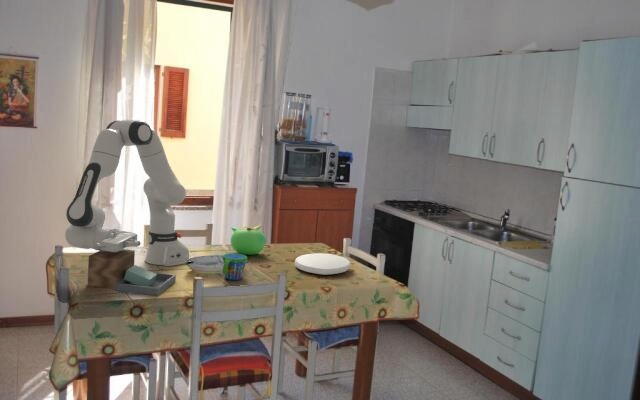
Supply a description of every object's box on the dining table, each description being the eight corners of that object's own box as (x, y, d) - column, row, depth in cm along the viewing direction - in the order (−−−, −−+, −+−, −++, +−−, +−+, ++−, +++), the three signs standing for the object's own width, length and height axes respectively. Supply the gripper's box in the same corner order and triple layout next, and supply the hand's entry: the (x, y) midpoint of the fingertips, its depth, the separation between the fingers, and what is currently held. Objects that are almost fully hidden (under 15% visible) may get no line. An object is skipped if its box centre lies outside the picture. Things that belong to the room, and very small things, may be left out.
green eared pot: (231, 257, 301) (233, 228, 299) (228, 249, 317) (230, 221, 315) (266, 258, 305) (269, 230, 303) (262, 250, 321) (264, 223, 319)
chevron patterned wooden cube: (87, 285, 238) (88, 256, 237) (106, 274, 254) (107, 247, 252) (116, 289, 237) (118, 259, 235) (133, 278, 253) (134, 250, 251)
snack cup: (234, 272, 276) (235, 250, 274) (253, 277, 271) (255, 255, 269) (212, 279, 262) (214, 256, 260) (232, 284, 257) (233, 261, 255)
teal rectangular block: (126, 270, 240) (149, 279, 239) (134, 265, 248) (157, 274, 247) (123, 279, 241) (146, 288, 240) (131, 273, 248) (154, 283, 248)
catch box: (115, 290, 235) (115, 283, 235) (136, 277, 255) (136, 270, 255) (157, 296, 234) (158, 288, 233) (175, 281, 253) (175, 275, 253)
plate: (328, 270, 276) (283, 258, 291) (328, 284, 277) (283, 271, 292) (361, 255, 298) (317, 245, 313) (360, 268, 300) (317, 257, 315)
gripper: (93, 237, 233) (128, 241, 231) (117, 227, 253) (149, 231, 252) (93, 253, 234) (127, 257, 232) (116, 242, 254) (148, 246, 253)
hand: (138, 244), depth 242 cm, fingers closed
